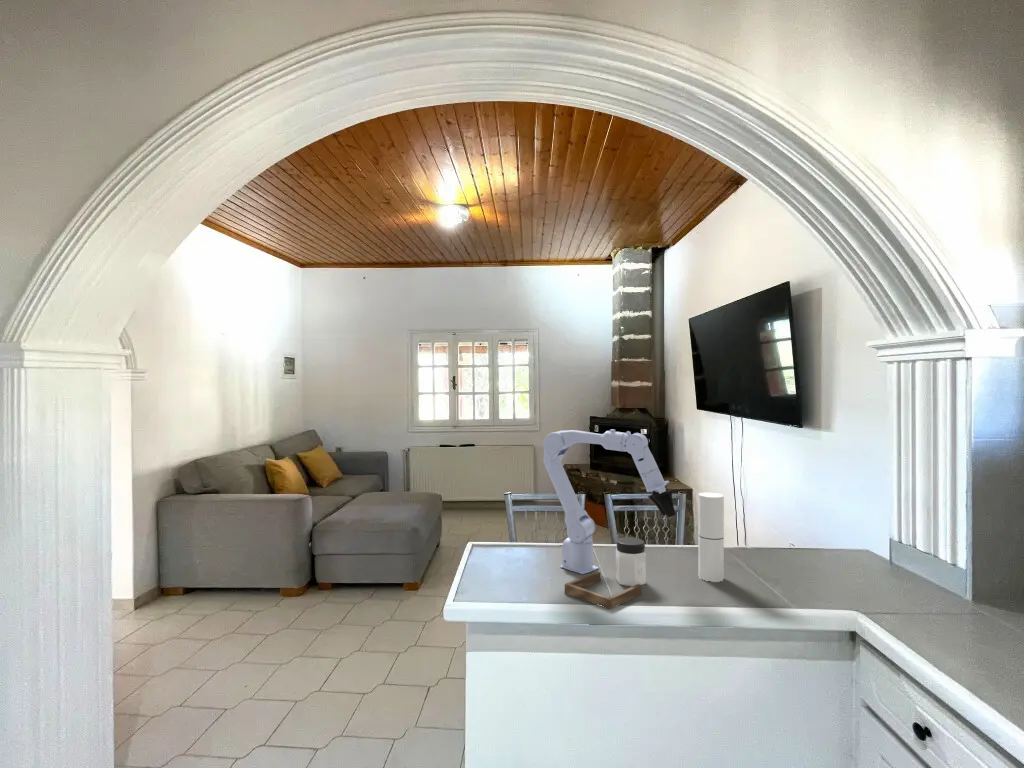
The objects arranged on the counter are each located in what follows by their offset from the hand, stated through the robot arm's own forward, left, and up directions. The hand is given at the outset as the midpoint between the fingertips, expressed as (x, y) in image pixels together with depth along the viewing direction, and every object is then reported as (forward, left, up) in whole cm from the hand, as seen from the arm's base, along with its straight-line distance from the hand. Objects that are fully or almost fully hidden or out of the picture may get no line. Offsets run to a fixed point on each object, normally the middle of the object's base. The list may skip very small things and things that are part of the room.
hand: (669, 515), depth 161 cm
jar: (-9, -7, -20) cm, 23 cm away
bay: (-9, -20, -20) cm, 29 cm away
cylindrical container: (+6, +13, -20) cm, 25 cm away
